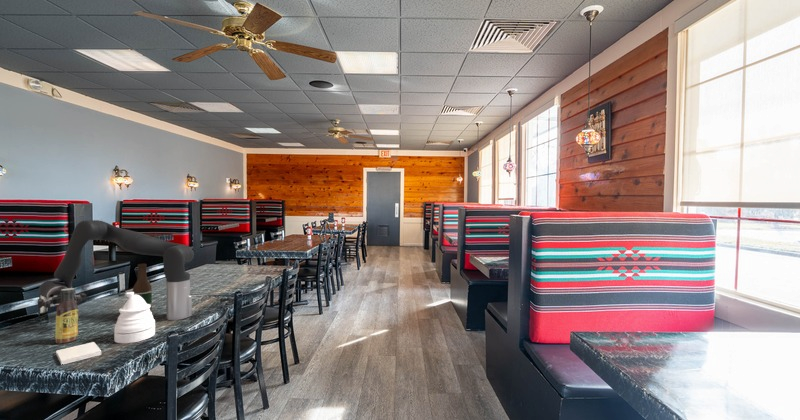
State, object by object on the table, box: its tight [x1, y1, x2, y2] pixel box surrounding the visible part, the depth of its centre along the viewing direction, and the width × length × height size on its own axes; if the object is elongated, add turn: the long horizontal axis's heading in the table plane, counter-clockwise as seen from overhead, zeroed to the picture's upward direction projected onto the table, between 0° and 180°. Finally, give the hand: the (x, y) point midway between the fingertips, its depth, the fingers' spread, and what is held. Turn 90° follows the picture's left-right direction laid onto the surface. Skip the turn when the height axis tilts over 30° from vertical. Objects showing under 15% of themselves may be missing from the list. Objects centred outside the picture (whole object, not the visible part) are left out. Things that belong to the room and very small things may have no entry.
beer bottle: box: [132, 263, 153, 313], centre depth 163 cm, size 8×8×24 cm
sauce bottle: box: [54, 287, 79, 344], centre depth 131 cm, size 6×6×20 cm
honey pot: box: [113, 291, 156, 344], centre depth 136 cm, size 13×13×18 cm
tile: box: [55, 341, 102, 366], centre depth 120 cm, size 10×2×12 cm
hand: (64, 303), depth 137 cm, fingers open, 8 cm apart
